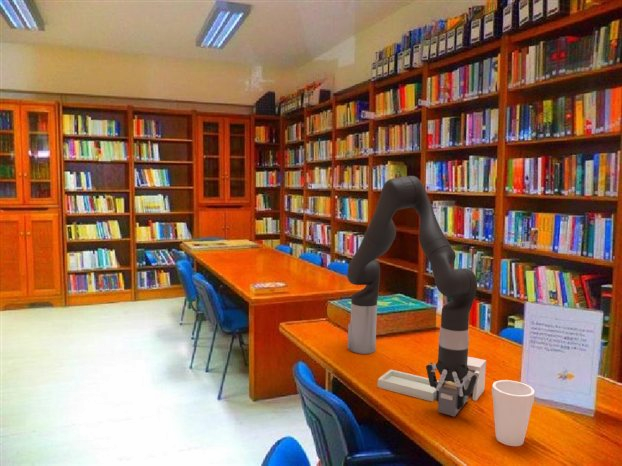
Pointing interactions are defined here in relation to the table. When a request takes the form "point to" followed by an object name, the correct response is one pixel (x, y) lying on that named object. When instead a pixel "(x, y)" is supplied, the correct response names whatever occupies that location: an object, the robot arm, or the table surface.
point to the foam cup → (511, 410)
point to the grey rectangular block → (450, 397)
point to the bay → (478, 367)
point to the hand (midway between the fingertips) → (450, 405)
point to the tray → (407, 385)
